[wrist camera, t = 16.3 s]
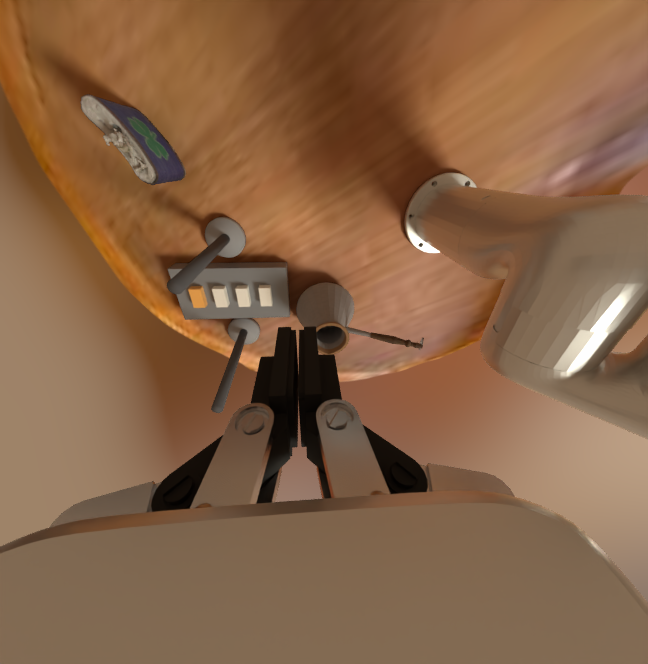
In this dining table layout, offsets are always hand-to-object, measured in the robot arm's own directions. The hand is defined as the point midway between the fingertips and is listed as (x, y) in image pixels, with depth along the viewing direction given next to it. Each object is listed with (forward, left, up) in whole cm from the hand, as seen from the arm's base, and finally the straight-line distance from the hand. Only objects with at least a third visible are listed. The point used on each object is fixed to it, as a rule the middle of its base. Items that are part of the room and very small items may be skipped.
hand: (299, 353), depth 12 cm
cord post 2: (+13, +23, -37) cm, 45 cm away
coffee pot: (-9, +17, -37) cm, 42 cm away
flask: (+20, -9, -37) cm, 43 cm away
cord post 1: (+13, +4, -37) cm, 39 cm away
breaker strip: (+13, +13, -37) cm, 41 cm away
